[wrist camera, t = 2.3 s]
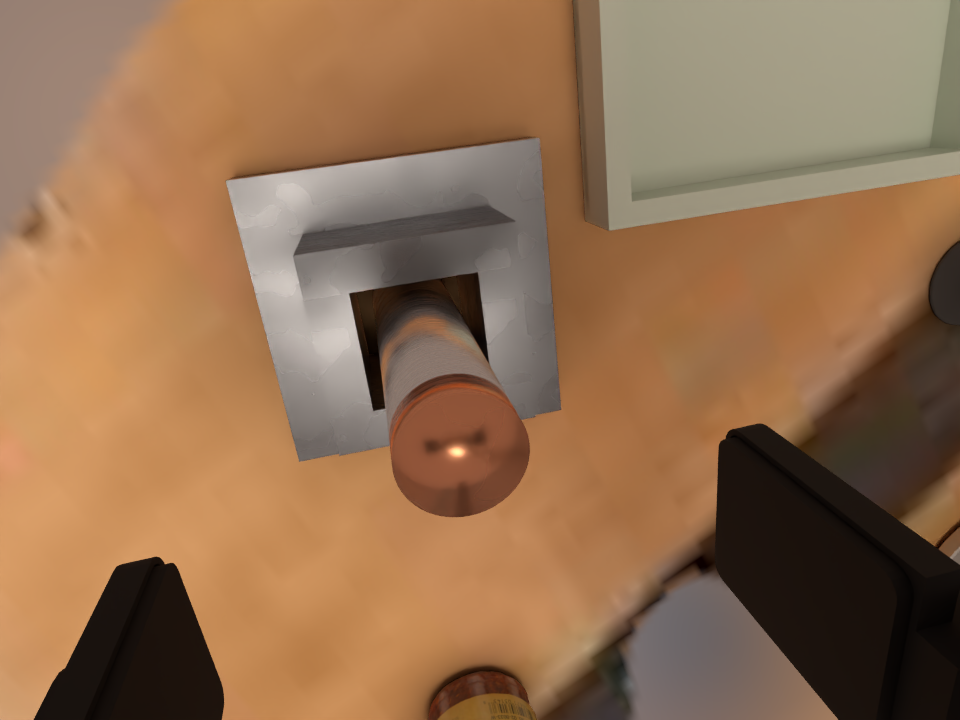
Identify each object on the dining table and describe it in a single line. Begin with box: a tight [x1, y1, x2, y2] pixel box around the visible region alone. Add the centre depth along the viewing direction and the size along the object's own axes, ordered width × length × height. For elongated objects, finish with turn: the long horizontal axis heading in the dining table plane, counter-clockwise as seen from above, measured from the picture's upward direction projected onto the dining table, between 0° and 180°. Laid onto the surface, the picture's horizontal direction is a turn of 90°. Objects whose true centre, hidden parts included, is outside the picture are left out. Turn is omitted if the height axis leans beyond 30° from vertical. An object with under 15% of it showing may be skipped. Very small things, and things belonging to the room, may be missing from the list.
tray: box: [573, 0, 960, 231], centre depth 25 cm, size 18×14×3 cm
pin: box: [373, 278, 530, 517], centre depth 21 cm, size 3×3×14 cm
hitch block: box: [226, 137, 561, 462], centre depth 25 cm, size 12×12×6 cm
